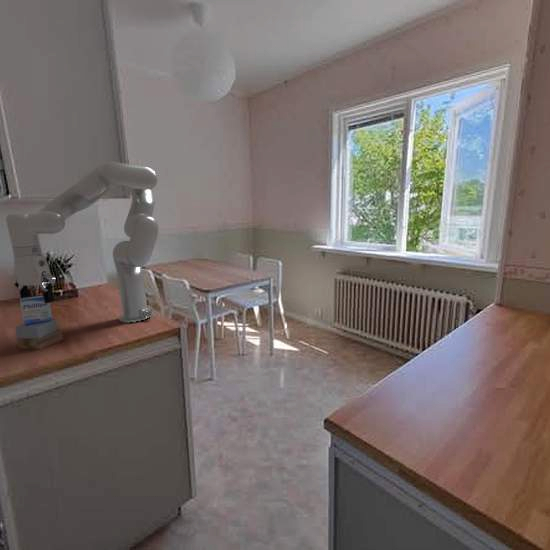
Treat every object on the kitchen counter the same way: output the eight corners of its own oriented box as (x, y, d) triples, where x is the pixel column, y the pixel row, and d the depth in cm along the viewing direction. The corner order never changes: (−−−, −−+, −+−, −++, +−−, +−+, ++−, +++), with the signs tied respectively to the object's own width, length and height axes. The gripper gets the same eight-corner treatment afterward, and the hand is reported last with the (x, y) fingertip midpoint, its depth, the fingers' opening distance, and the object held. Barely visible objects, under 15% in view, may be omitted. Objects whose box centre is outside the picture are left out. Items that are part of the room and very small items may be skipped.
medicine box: (24, 326, 112) (19, 300, 110) (24, 322, 116) (20, 297, 114) (52, 320, 116) (48, 296, 115) (52, 317, 120) (48, 293, 118)
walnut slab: (63, 340, 120) (61, 329, 120) (40, 350, 112) (38, 339, 111) (43, 338, 123) (41, 328, 122) (19, 348, 114) (16, 337, 113)
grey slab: (57, 329, 119) (55, 318, 119) (39, 338, 112) (37, 327, 111) (37, 329, 120) (35, 318, 120) (17, 338, 113) (15, 326, 112)
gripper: (58, 249, 113) (68, 299, 117) (18, 250, 118) (28, 298, 121) (37, 253, 106) (48, 306, 110) (-4, 253, 110) (7, 304, 114)
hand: (38, 301), depth 115 cm, fingers open, 9 cm apart
